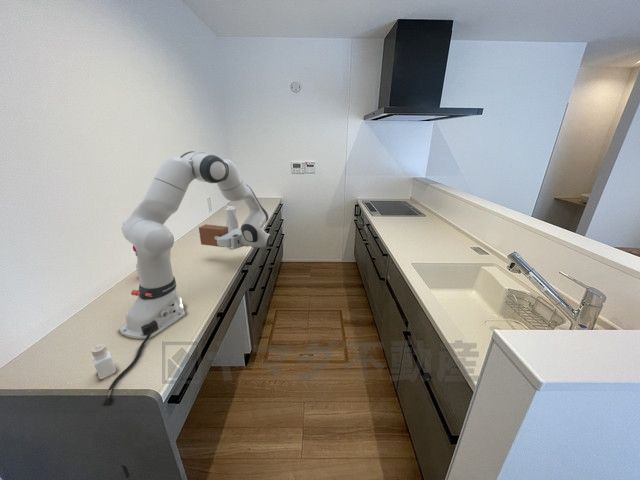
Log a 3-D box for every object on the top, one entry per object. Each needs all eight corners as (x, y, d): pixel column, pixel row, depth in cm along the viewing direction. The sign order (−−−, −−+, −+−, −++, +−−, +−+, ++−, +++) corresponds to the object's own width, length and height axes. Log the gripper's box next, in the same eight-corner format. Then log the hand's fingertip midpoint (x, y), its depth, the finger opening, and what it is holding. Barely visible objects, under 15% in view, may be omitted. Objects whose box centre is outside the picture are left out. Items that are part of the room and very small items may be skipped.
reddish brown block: (224, 247, 143) (222, 230, 139) (201, 244, 146) (198, 227, 142) (230, 243, 149) (228, 226, 145) (207, 240, 151) (205, 224, 148)
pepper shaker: (100, 380, 76) (90, 355, 72) (97, 373, 78) (87, 348, 75) (117, 372, 79) (108, 347, 75) (113, 365, 81) (105, 340, 78)
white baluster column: (230, 250, 166) (225, 206, 156) (225, 246, 171) (220, 204, 161) (241, 247, 171) (238, 205, 160) (236, 243, 176) (233, 202, 166)
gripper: (250, 226, 150) (228, 224, 153) (231, 238, 132) (207, 235, 134) (251, 237, 153) (229, 234, 155) (232, 250, 134) (208, 247, 137)
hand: (219, 235), depth 145 cm, fingers closed on reddish brown block, 6 cm apart
